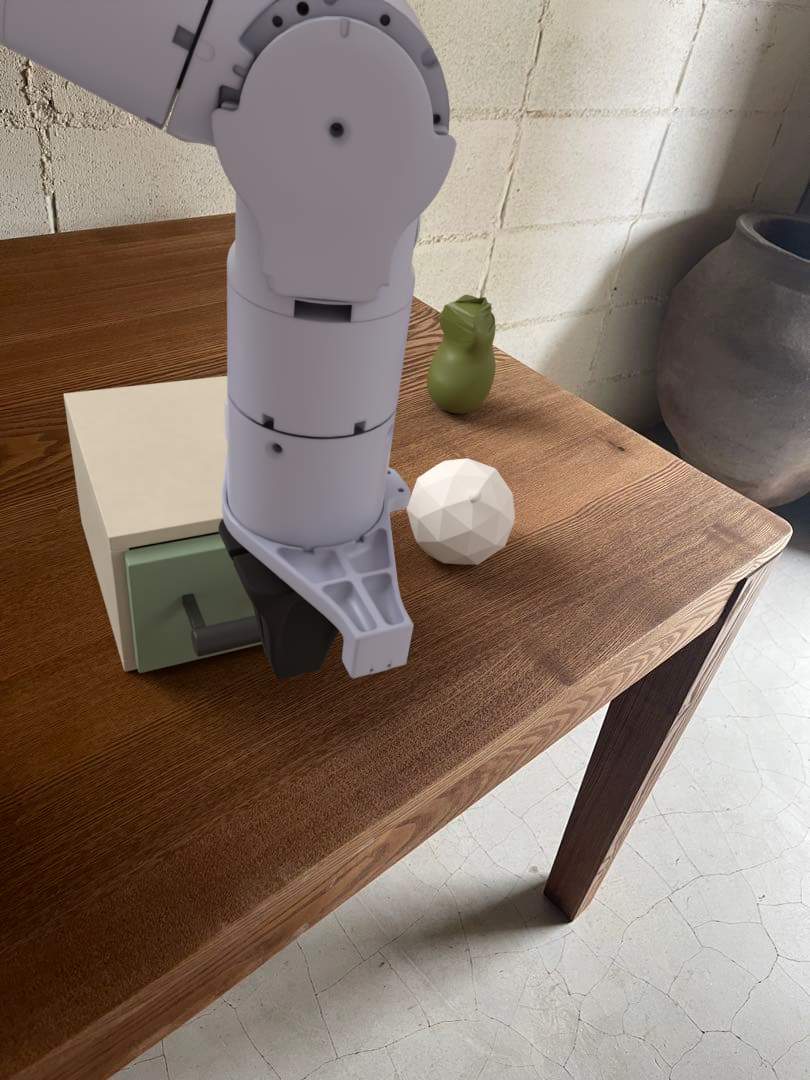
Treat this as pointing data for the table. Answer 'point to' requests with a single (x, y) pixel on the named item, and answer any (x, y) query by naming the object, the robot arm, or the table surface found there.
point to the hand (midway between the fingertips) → (294, 663)
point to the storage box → (145, 475)
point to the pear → (463, 356)
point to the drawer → (186, 602)
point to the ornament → (461, 512)
